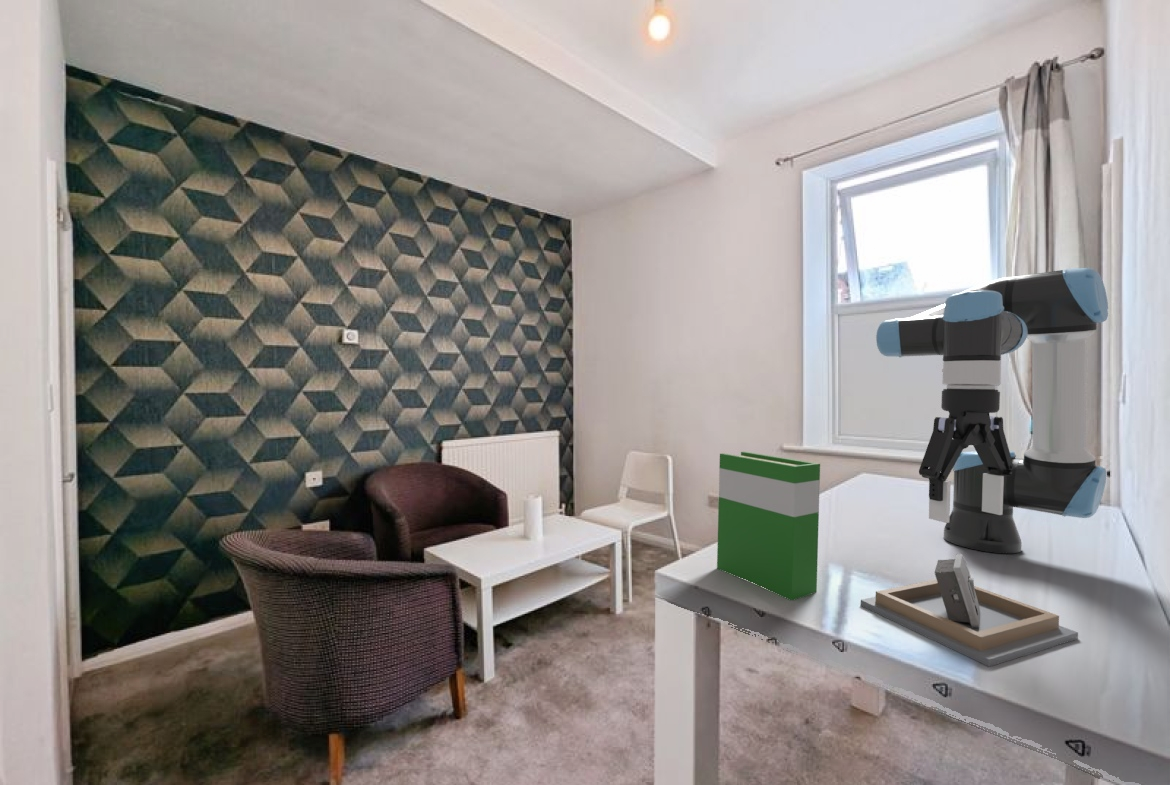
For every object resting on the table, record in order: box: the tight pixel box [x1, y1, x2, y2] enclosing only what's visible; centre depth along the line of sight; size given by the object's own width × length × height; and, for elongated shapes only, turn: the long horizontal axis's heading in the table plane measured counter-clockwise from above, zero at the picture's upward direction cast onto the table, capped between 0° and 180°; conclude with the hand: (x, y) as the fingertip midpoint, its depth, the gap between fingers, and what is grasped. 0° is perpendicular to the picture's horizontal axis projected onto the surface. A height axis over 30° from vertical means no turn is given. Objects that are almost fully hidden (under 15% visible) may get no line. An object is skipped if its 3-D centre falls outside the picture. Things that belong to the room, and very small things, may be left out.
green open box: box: [716, 451, 821, 601], centre depth 98 cm, size 18×7×24 cm, turn 32°
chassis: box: [860, 579, 1079, 667], centre depth 82 cm, size 22×20×3 cm
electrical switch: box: [934, 553, 980, 628], centre depth 82 cm, size 9×5×9 cm, turn 141°
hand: (966, 516), depth 82 cm, fingers open, 13 cm apart
